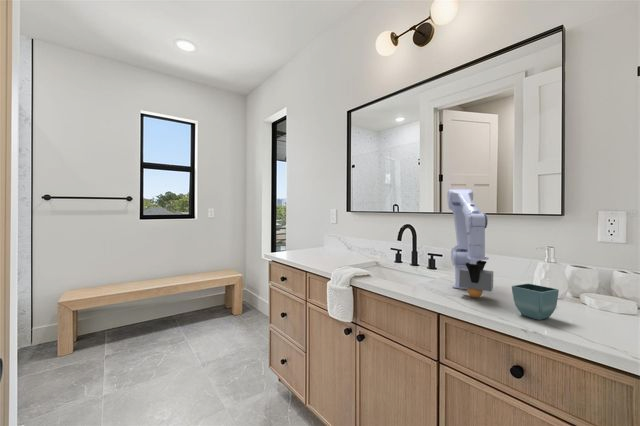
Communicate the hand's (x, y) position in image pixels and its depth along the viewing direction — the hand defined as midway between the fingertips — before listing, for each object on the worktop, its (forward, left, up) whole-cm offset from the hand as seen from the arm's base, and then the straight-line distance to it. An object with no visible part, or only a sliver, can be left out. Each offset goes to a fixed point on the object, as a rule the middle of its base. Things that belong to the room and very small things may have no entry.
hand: (476, 281), depth 106 cm
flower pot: (+12, +17, -6) cm, 22 cm away
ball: (0, -1, -4) cm, 4 cm away
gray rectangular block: (0, 0, -2) cm, 2 cm away
